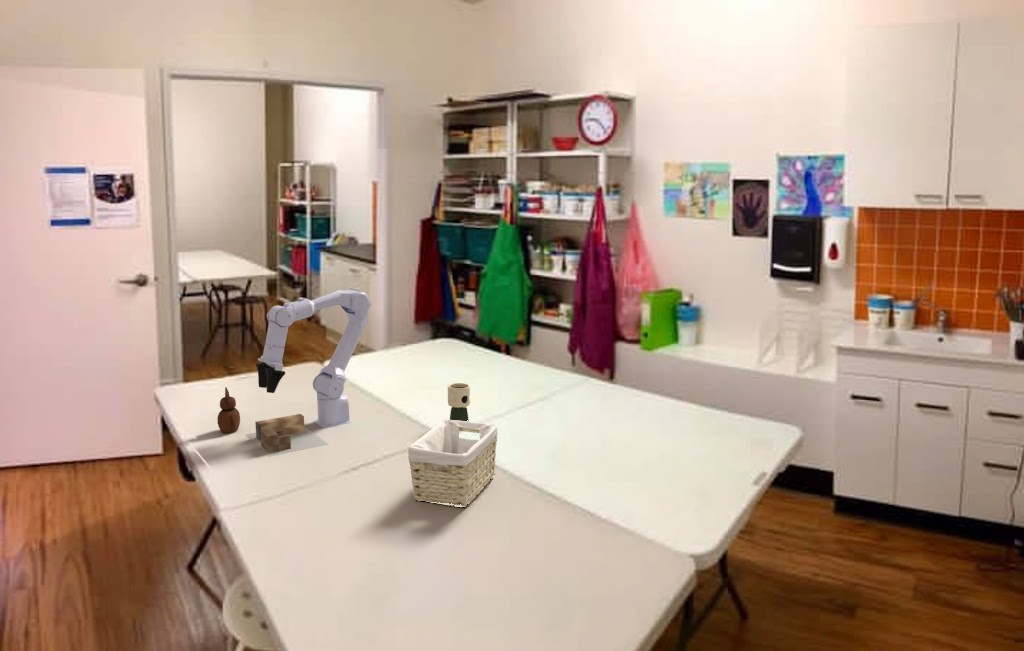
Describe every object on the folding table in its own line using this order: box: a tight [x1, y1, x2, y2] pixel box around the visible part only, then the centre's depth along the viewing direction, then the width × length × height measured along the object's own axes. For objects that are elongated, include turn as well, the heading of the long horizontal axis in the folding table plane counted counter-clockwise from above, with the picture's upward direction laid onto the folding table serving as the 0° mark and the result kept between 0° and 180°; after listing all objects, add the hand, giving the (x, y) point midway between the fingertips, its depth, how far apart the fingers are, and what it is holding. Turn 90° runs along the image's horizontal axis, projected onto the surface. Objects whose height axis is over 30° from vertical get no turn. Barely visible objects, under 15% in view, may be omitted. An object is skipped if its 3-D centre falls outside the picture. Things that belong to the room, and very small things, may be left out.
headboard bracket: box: [260, 428, 291, 453], centre depth 231 cm, size 6×7×5 cm
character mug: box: [447, 382, 471, 422], centre depth 253 cm, size 11×7×13 cm, turn 157°
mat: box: [245, 425, 329, 457], centre depth 239 cm, size 18×22×1 cm
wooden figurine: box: [216, 386, 241, 435], centre depth 244 cm, size 7×6×15 cm
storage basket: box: [407, 419, 498, 506], centre depth 203 cm, size 24×16×15 cm
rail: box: [254, 413, 305, 440], centre depth 242 cm, size 14×3×5 cm, turn 125°
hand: (266, 390), depth 238 cm, fingers open, 7 cm apart
